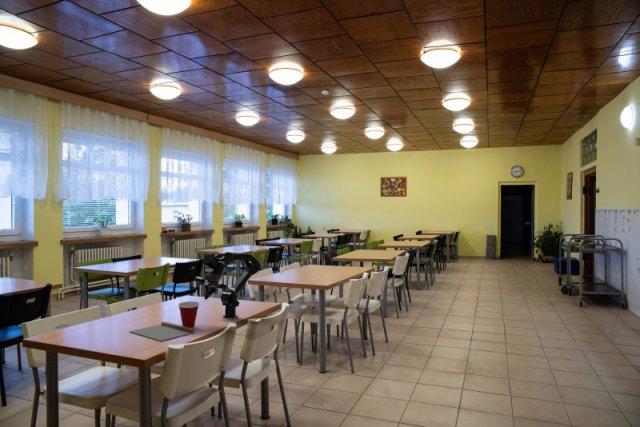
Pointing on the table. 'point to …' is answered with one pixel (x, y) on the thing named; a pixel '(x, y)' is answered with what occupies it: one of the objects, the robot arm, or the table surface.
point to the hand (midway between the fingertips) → (205, 299)
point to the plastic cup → (188, 313)
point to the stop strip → (177, 327)
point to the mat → (160, 332)
